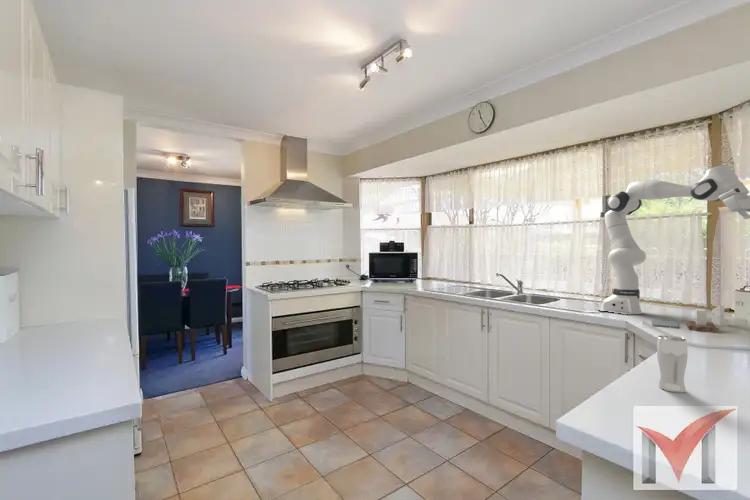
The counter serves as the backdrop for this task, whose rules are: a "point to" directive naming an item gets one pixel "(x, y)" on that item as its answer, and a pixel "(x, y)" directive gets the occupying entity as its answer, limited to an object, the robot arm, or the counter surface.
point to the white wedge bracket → (719, 316)
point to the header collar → (701, 326)
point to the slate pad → (664, 324)
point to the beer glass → (672, 362)
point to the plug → (700, 317)
